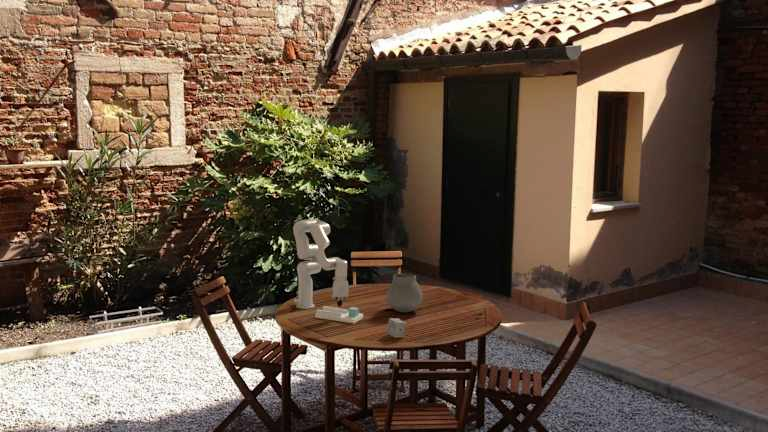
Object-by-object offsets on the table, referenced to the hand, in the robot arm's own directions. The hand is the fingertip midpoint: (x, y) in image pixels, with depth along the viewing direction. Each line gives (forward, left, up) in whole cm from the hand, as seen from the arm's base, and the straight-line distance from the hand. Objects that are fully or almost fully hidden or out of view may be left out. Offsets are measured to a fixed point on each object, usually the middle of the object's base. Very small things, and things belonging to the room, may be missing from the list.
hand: (339, 306), depth 461 cm
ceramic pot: (+32, +34, -8) cm, 47 cm away
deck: (0, 0, -8) cm, 8 cm away
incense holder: (+48, -18, -8) cm, 52 cm away
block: (+10, 0, -5) cm, 11 cm away
